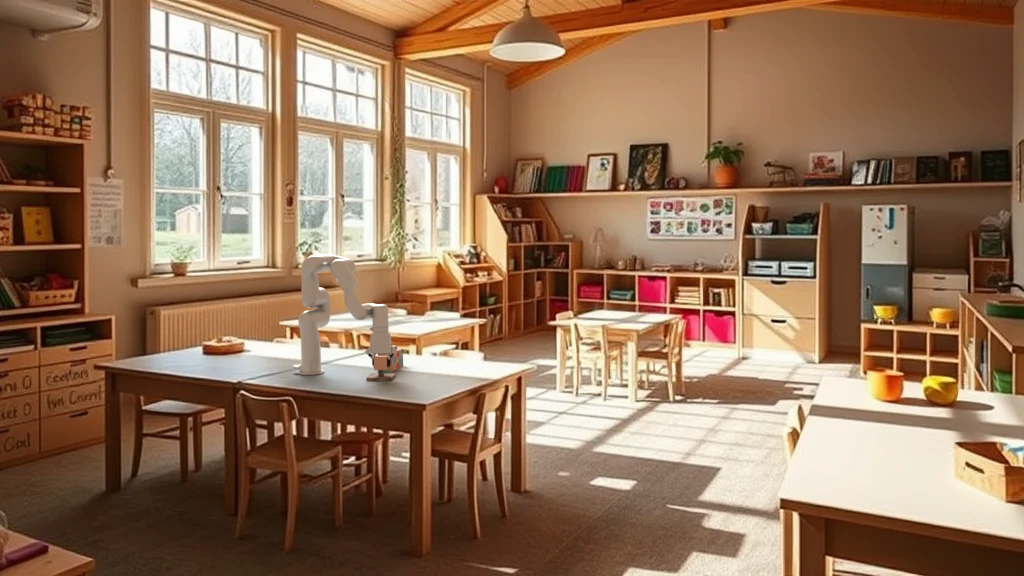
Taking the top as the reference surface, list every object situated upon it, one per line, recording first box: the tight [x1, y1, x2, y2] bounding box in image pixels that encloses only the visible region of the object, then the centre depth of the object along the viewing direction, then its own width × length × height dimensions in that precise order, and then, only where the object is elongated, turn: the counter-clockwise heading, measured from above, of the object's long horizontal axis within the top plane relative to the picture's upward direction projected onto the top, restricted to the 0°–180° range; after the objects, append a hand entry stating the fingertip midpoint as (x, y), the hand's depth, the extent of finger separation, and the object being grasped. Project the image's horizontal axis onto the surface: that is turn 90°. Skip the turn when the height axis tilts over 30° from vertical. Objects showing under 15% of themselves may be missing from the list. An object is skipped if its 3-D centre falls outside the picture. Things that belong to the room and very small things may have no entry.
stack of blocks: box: [377, 344, 404, 373], centre depth 424 cm, size 21×6×12 cm, turn 169°
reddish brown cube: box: [373, 355, 388, 371], centre depth 396 cm, size 6×6×6 cm
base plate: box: [365, 370, 397, 382], centre depth 397 cm, size 12×12×6 cm
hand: (381, 366), depth 396 cm, fingers closed on reddish brown cube, 6 cm apart
